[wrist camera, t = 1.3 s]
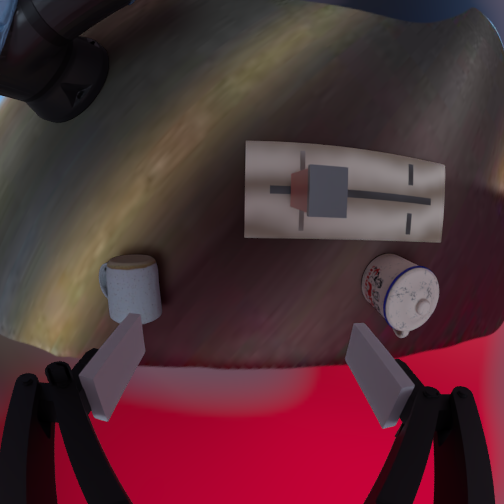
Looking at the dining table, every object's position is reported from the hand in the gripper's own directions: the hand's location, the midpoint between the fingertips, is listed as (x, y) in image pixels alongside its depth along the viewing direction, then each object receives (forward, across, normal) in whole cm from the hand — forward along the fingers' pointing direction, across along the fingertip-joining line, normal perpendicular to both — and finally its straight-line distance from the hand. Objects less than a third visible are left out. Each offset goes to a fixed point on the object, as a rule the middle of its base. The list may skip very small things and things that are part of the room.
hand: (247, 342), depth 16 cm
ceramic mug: (+23, -16, -5) cm, 29 cm away
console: (+23, +14, +9) cm, 28 cm away
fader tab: (+19, +6, +9) cm, 22 cm away
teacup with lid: (+23, +22, -4) cm, 32 cm away
